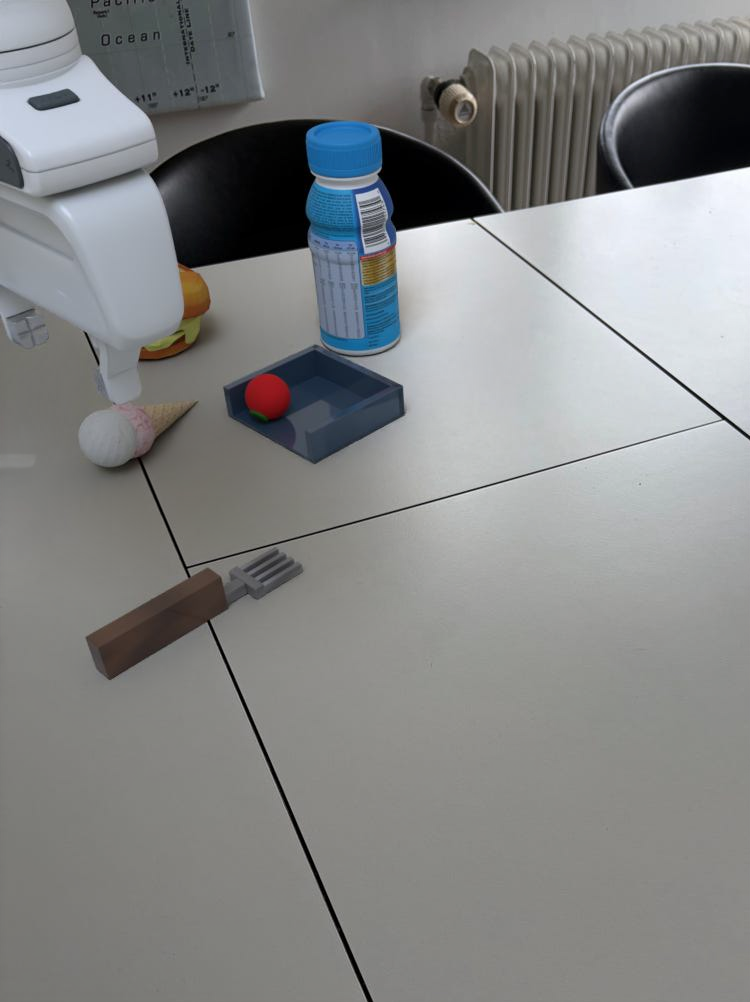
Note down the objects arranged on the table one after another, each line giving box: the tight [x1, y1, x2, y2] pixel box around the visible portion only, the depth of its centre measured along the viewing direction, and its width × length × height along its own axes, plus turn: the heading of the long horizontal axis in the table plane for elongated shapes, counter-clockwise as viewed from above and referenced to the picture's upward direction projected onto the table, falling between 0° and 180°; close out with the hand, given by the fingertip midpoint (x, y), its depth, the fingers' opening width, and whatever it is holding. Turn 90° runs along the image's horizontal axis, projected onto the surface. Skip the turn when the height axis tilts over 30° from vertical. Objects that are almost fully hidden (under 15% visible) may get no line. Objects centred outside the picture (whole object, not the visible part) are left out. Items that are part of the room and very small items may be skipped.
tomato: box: [245, 374, 290, 422], centre depth 93 cm, size 4×4×4 cm
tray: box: [222, 343, 406, 465], centre depth 95 cm, size 12×11×3 cm
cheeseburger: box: [139, 261, 212, 360], centre depth 104 cm, size 10×11×10 cm
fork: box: [84, 546, 303, 681], centre depth 74 cm, size 16×3×3 cm, turn 137°
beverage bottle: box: [305, 120, 402, 357], centre depth 100 cm, size 8×8×20 cm
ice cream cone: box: [77, 399, 199, 468], centre depth 92 cm, size 5×5×15 cm
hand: (74, 368), depth 59 cm, fingers open, 8 cm apart
